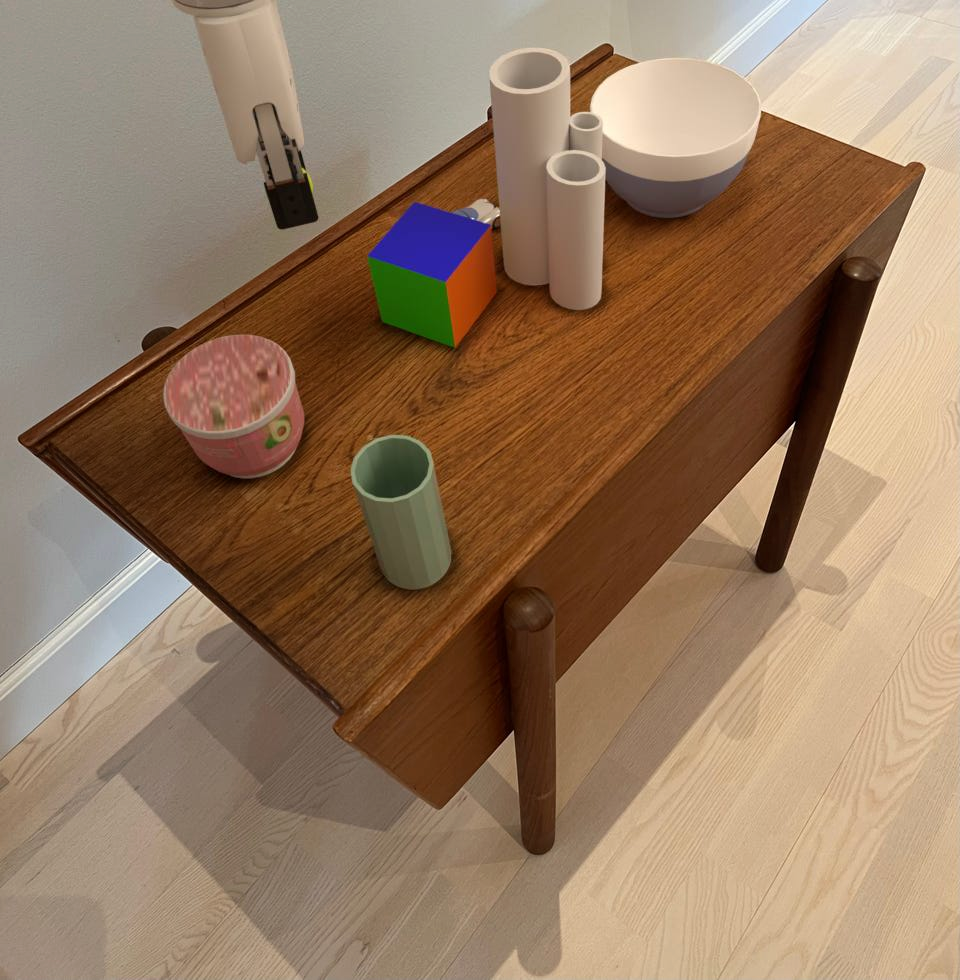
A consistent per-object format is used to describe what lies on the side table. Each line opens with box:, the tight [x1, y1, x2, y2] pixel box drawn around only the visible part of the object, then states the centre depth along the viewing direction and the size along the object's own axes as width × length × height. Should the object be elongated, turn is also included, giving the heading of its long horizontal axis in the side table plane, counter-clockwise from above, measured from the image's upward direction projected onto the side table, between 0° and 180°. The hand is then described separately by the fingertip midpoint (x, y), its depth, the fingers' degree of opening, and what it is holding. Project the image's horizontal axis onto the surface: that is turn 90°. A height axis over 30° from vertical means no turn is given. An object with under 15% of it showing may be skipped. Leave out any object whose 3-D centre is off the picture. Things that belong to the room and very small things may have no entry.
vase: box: [488, 47, 606, 311], centre depth 83 cm, size 11×7×20 cm, turn 50°
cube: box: [366, 201, 498, 349], centre depth 86 cm, size 8×8×8 cm
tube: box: [349, 434, 452, 591], centre depth 69 cm, size 6×6×12 cm
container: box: [162, 334, 305, 479], centre depth 78 cm, size 10×10×8 cm
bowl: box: [589, 57, 762, 219], centre depth 93 cm, size 16×16×10 cm
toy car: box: [451, 198, 501, 230], centre depth 94 cm, size 4×12×3 cm, turn 126°
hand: (293, 204), depth 73 cm, fingers closed on ball, 3 cm apart
